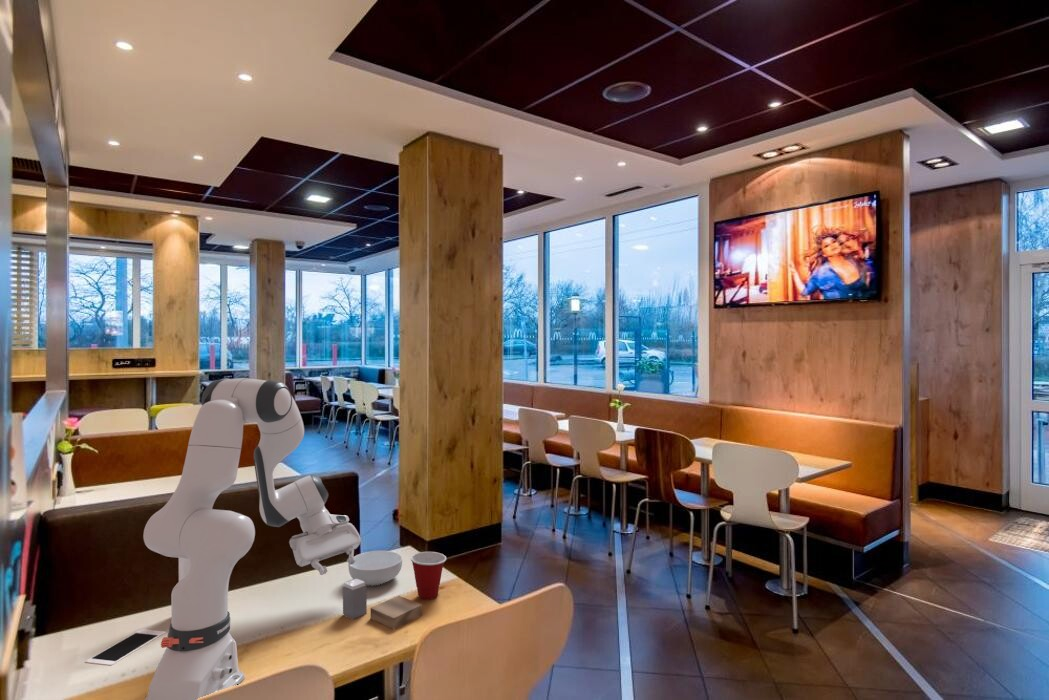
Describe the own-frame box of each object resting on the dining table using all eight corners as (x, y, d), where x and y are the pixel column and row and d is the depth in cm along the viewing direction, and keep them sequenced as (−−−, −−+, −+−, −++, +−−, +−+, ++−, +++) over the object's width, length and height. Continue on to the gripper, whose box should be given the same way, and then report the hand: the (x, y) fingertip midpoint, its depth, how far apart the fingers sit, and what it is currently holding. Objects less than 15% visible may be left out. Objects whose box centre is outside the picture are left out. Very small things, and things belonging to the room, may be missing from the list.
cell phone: (166, 633, 151) (166, 631, 151) (111, 667, 135) (111, 664, 135) (141, 631, 152) (141, 628, 152) (84, 664, 136) (84, 661, 136)
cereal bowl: (363, 597, 172) (363, 573, 172) (339, 580, 184) (339, 559, 184) (412, 581, 183) (412, 559, 183) (386, 566, 195) (386, 546, 195)
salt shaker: (352, 619, 157) (352, 587, 157) (343, 615, 160) (342, 583, 160) (366, 613, 161) (366, 581, 161) (356, 609, 164) (356, 577, 164)
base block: (393, 629, 151) (393, 618, 151) (370, 618, 158) (370, 607, 158) (422, 615, 159) (422, 604, 159) (398, 605, 165) (398, 595, 165)
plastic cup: (450, 599, 169) (450, 559, 169) (414, 606, 165) (414, 565, 165) (442, 585, 179) (441, 548, 179) (407, 591, 175) (407, 552, 175)
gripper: (291, 531, 161) (310, 573, 155) (352, 514, 178) (371, 552, 172) (282, 543, 164) (301, 585, 158) (343, 525, 180) (362, 563, 174)
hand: (338, 568), depth 165 cm, fingers open, 8 cm apart
